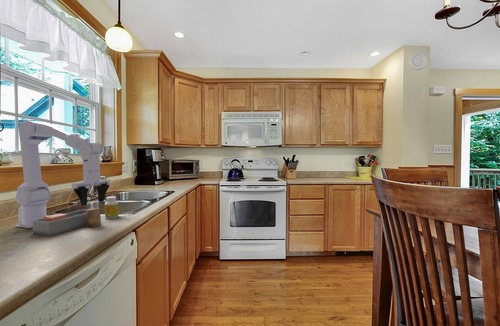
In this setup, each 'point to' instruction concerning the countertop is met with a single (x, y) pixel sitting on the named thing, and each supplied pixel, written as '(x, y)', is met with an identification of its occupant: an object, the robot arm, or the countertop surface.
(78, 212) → the box
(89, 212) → the cylinder
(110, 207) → the supplement bottle
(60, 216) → the cube
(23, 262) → the countertop surface
